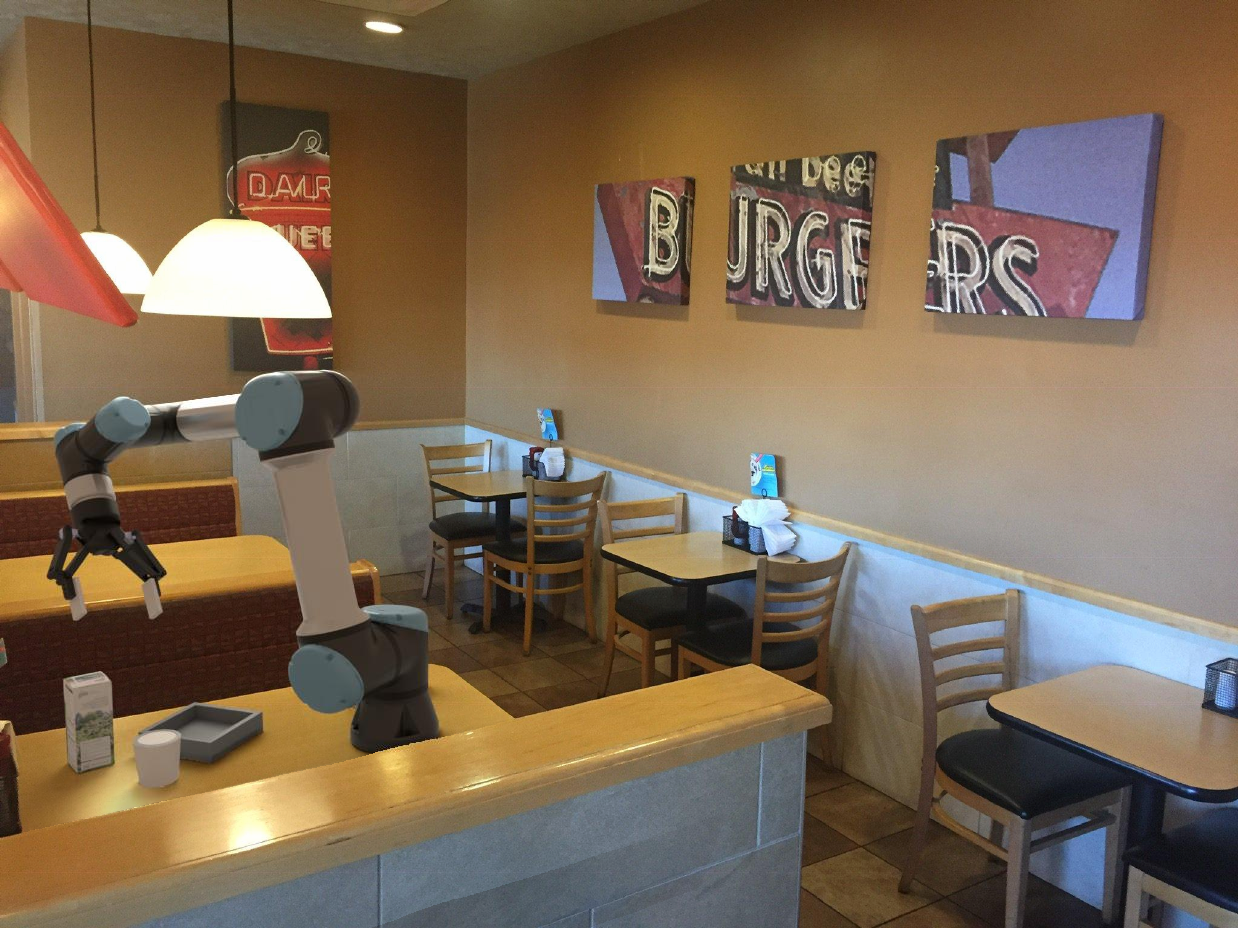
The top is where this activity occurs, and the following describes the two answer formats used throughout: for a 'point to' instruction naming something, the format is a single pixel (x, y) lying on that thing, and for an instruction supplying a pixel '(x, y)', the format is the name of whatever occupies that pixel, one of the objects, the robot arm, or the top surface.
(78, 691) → the syrup box
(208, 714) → the tray
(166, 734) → the white cup
